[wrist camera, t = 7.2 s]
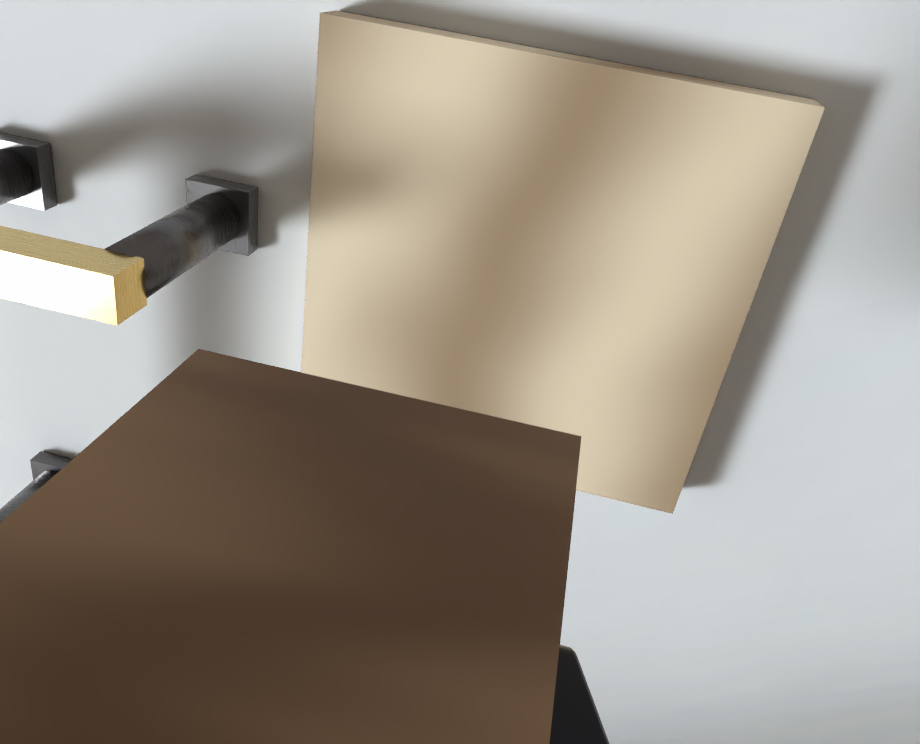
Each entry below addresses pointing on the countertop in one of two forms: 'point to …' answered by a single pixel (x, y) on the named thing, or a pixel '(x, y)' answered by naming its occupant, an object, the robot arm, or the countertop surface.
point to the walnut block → (289, 571)
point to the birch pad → (541, 236)
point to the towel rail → (108, 255)
